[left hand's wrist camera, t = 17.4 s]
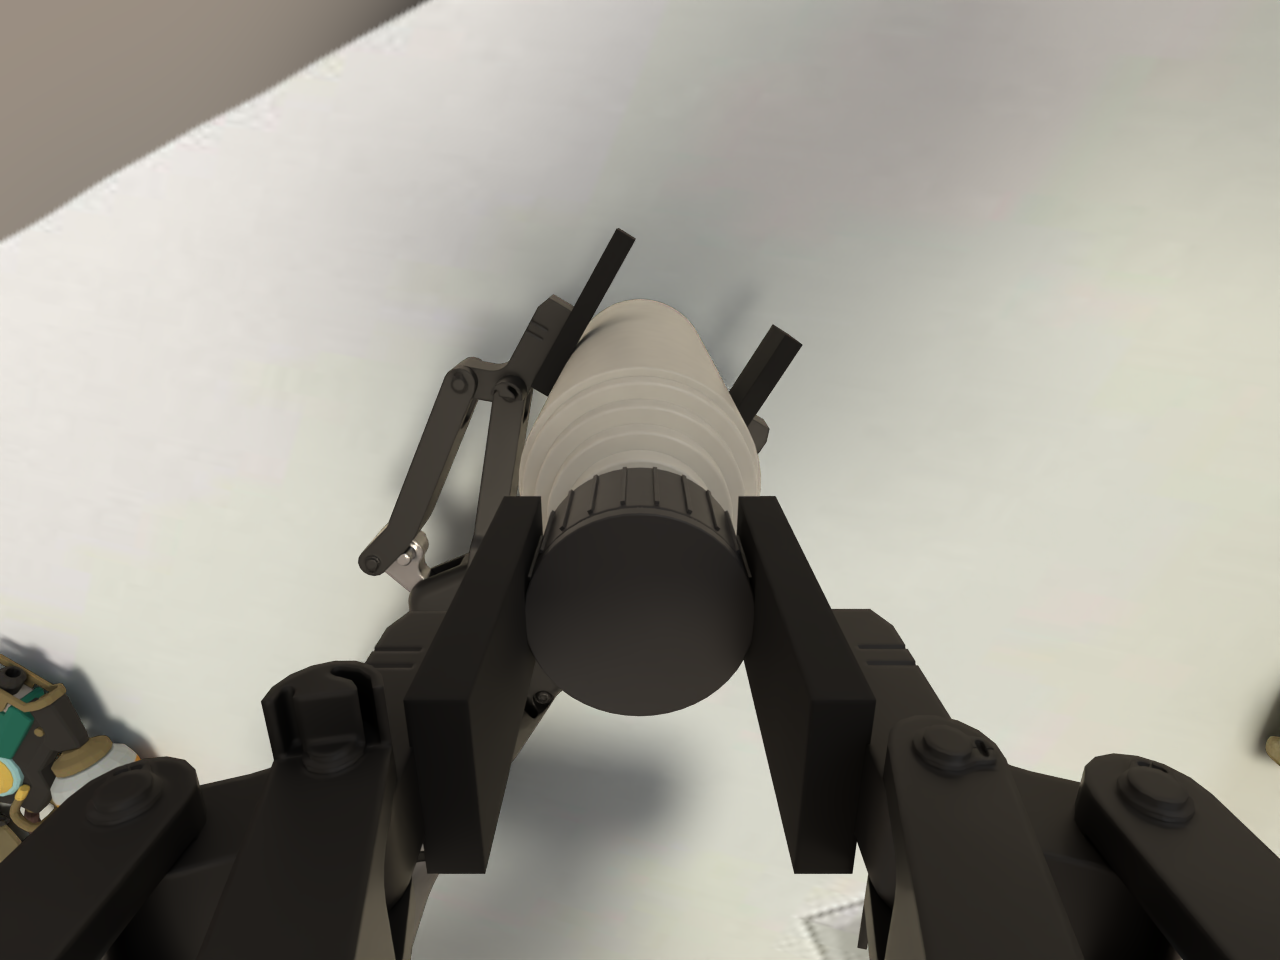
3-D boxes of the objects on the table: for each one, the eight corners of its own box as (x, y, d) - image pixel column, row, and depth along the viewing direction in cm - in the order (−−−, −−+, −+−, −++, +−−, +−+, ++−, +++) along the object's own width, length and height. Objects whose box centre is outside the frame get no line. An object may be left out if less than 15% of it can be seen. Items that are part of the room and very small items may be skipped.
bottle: (731, 343, 34) (888, 551, 12) (661, 452, 36) (693, 796, 14) (616, 272, 33) (570, 367, 11) (550, 389, 35) (405, 658, 13)
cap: (533, 463, 14) (512, 510, 12) (745, 464, 14) (766, 511, 12) (543, 645, 15) (526, 718, 13) (736, 645, 15) (752, 719, 13)
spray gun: (67, 901, 47) (-124, 749, 44) (229, 796, 43) (31, 619, 39) (10, 964, 43) (-207, 803, 40) (181, 856, 39) (-44, 664, 35)
